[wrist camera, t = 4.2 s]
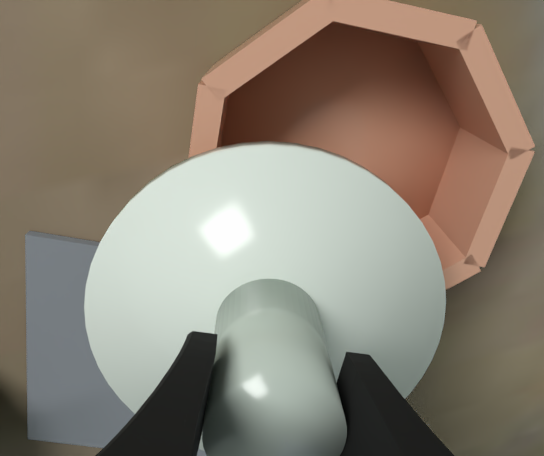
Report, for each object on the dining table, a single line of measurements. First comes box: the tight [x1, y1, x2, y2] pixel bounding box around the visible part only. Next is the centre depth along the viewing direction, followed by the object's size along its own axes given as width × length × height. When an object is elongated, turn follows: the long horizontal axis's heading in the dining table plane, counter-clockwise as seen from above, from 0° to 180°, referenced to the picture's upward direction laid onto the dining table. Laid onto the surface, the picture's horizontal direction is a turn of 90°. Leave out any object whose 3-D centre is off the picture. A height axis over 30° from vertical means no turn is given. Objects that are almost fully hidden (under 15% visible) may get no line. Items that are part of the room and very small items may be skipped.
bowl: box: [189, 0, 535, 290], centre depth 17 cm, size 11×11×4 cm
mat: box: [25, 231, 207, 456], centre depth 23 cm, size 12×12×1 cm
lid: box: [84, 141, 446, 456], centre depth 13 cm, size 11×11×5 cm
